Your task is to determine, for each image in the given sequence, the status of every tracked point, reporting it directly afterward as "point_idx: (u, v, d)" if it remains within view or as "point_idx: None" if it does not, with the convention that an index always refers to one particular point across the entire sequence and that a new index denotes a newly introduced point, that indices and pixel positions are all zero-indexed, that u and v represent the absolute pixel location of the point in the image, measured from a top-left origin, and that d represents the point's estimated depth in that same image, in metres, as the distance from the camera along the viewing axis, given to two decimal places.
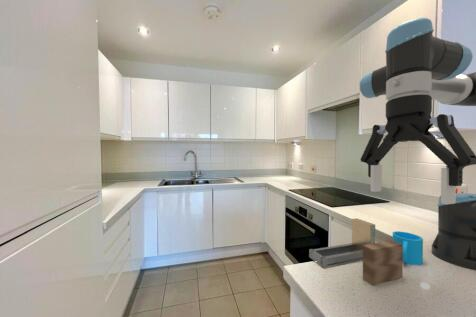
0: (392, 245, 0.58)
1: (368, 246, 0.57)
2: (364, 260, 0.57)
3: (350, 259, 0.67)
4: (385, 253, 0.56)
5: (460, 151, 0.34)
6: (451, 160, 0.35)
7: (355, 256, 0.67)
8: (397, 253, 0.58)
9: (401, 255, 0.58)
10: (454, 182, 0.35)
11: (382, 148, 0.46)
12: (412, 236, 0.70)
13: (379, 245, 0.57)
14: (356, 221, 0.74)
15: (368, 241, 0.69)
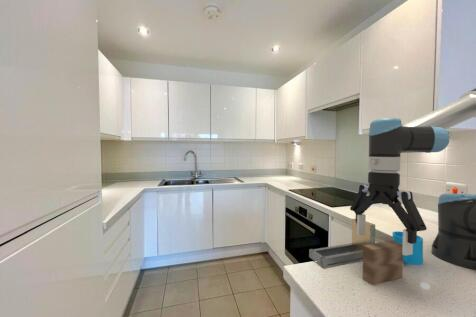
0: (392, 245, 0.58)
1: (368, 246, 0.57)
2: (364, 260, 0.57)
3: (350, 259, 0.67)
4: (385, 253, 0.56)
5: (414, 221, 0.49)
6: (409, 225, 0.50)
7: (355, 256, 0.67)
8: (397, 253, 0.58)
9: (401, 255, 0.58)
10: (410, 241, 0.50)
11: (365, 204, 0.62)
12: None
13: (379, 245, 0.57)
14: None
15: (368, 241, 0.69)
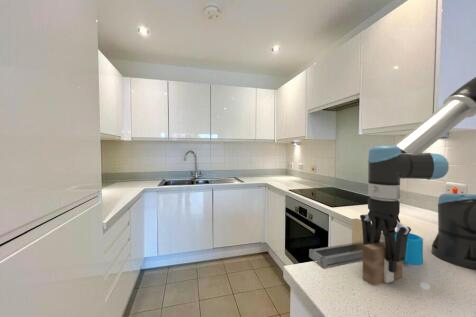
0: None
1: (368, 246, 0.57)
2: (364, 260, 0.57)
3: (350, 259, 0.67)
4: (385, 253, 0.56)
5: (397, 253, 0.53)
6: (390, 257, 0.55)
7: (355, 256, 0.67)
8: None
9: None
10: (391, 270, 0.55)
11: (374, 236, 0.59)
12: (412, 236, 0.70)
13: (379, 245, 0.57)
14: (356, 221, 0.74)
15: None
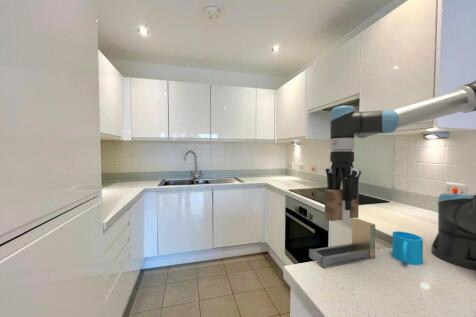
0: None
1: (328, 190, 0.68)
2: (325, 202, 0.68)
3: (350, 259, 0.67)
4: (343, 195, 0.68)
5: (350, 192, 0.64)
6: (346, 197, 0.66)
7: (355, 256, 0.67)
8: None
9: (357, 198, 0.69)
10: (346, 208, 0.66)
11: (335, 183, 0.71)
12: (412, 236, 0.71)
13: (338, 190, 0.69)
14: (356, 221, 0.74)
15: (368, 241, 0.69)
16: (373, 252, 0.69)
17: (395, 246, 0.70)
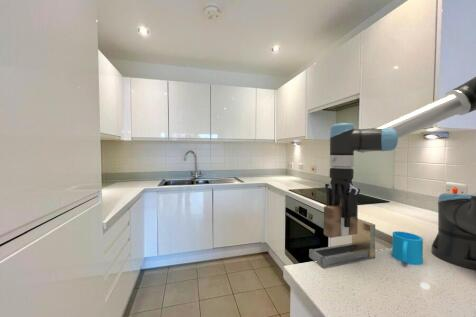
0: None
1: (328, 206, 0.69)
2: (325, 218, 0.69)
3: (350, 259, 0.67)
4: (342, 212, 0.68)
5: (349, 210, 0.65)
6: (345, 214, 0.66)
7: (355, 256, 0.67)
8: None
9: (356, 214, 0.70)
10: (345, 225, 0.67)
11: (334, 199, 0.71)
12: (412, 236, 0.71)
13: (337, 206, 0.69)
14: None
15: (368, 241, 0.69)
16: (373, 252, 0.69)
17: (395, 246, 0.70)
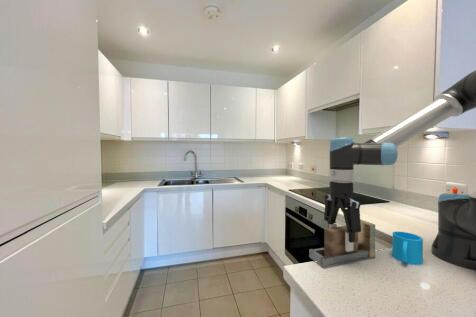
0: None
1: (328, 229, 0.69)
2: (325, 240, 0.69)
3: (350, 259, 0.67)
4: (342, 235, 0.68)
5: (353, 225, 0.63)
6: (349, 229, 0.65)
7: (355, 256, 0.67)
8: None
9: (356, 236, 0.70)
10: (350, 240, 0.65)
11: (332, 211, 0.72)
12: (412, 236, 0.71)
13: (338, 228, 0.69)
14: None
15: (368, 241, 0.69)
16: (373, 252, 0.69)
17: (395, 246, 0.70)
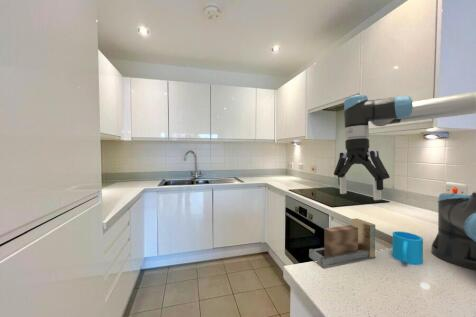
0: (349, 228, 0.69)
1: (328, 229, 0.69)
2: (325, 240, 0.69)
3: (350, 259, 0.67)
4: (342, 235, 0.68)
5: (380, 171, 0.63)
6: (376, 176, 0.64)
7: (355, 256, 0.67)
8: (352, 235, 0.69)
9: (356, 236, 0.70)
10: (379, 188, 0.64)
11: (345, 167, 0.76)
12: (412, 236, 0.70)
13: (338, 228, 0.69)
14: (356, 221, 0.74)
15: (368, 241, 0.69)
16: (373, 252, 0.69)
17: (395, 246, 0.70)
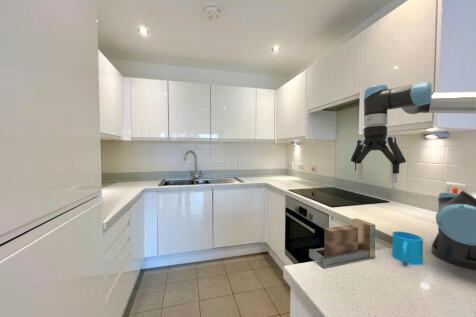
0: (349, 228, 0.69)
1: (328, 229, 0.69)
2: (325, 240, 0.69)
3: (350, 259, 0.67)
4: (342, 235, 0.68)
5: (397, 156, 0.68)
6: (393, 160, 0.69)
7: (355, 256, 0.67)
8: (352, 235, 0.69)
9: (356, 236, 0.70)
10: (395, 171, 0.69)
11: (362, 153, 0.81)
12: (412, 236, 0.70)
13: (338, 228, 0.69)
14: (356, 221, 0.74)
15: (368, 241, 0.69)
16: (373, 252, 0.69)
17: (395, 246, 0.70)
